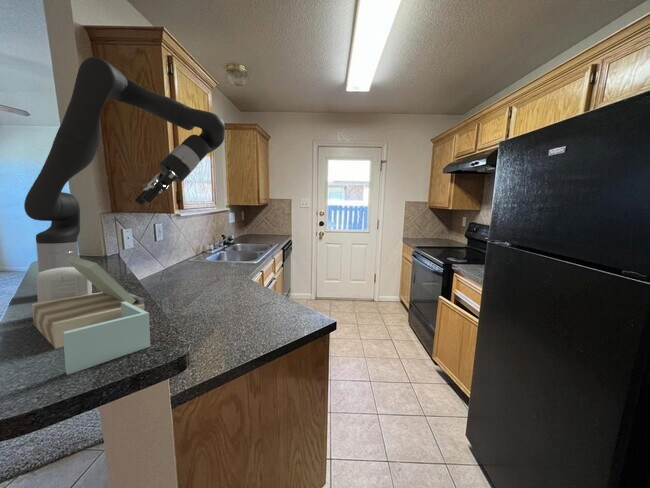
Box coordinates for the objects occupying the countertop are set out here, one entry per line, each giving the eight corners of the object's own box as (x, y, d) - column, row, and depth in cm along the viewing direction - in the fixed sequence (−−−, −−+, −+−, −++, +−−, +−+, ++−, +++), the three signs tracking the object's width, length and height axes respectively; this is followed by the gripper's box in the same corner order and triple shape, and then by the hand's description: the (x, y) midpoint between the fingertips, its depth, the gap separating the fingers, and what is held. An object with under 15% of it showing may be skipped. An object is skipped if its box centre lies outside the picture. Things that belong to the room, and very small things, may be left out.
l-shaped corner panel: (127, 333, 59) (125, 301, 58) (150, 349, 52) (149, 312, 51) (51, 355, 49) (48, 316, 48) (67, 378, 42) (64, 333, 42)
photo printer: (94, 308, 73) (91, 264, 72) (91, 312, 70) (88, 267, 69) (42, 315, 68) (38, 267, 66) (36, 320, 64) (32, 270, 63)
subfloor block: (33, 324, 61) (31, 299, 61) (113, 307, 74) (112, 286, 73) (55, 349, 50) (53, 317, 50) (145, 323, 63) (144, 298, 62)
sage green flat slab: (65, 259, 64) (71, 255, 65) (102, 292, 71) (108, 288, 72) (89, 268, 54) (96, 263, 55) (130, 305, 61) (136, 300, 62)
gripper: (162, 157, 82) (123, 194, 76) (177, 148, 73) (133, 189, 66) (182, 176, 87) (147, 212, 80) (199, 169, 77) (160, 209, 70)
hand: (141, 201), depth 73 cm, fingers open, 8 cm apart
